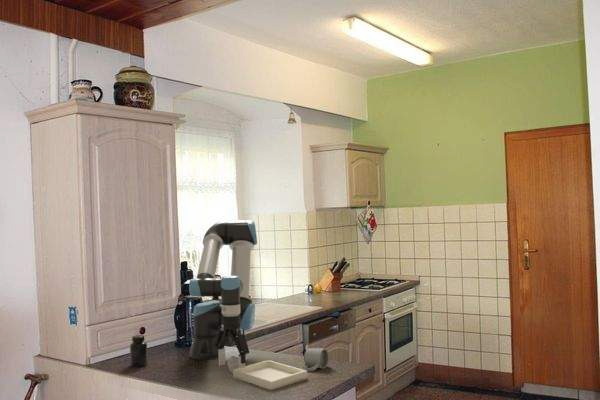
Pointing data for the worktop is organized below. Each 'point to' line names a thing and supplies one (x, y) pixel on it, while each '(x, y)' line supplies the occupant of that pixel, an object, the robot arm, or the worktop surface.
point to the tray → (270, 374)
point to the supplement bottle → (138, 351)
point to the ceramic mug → (315, 358)
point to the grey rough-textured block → (233, 363)
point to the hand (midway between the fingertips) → (231, 368)
